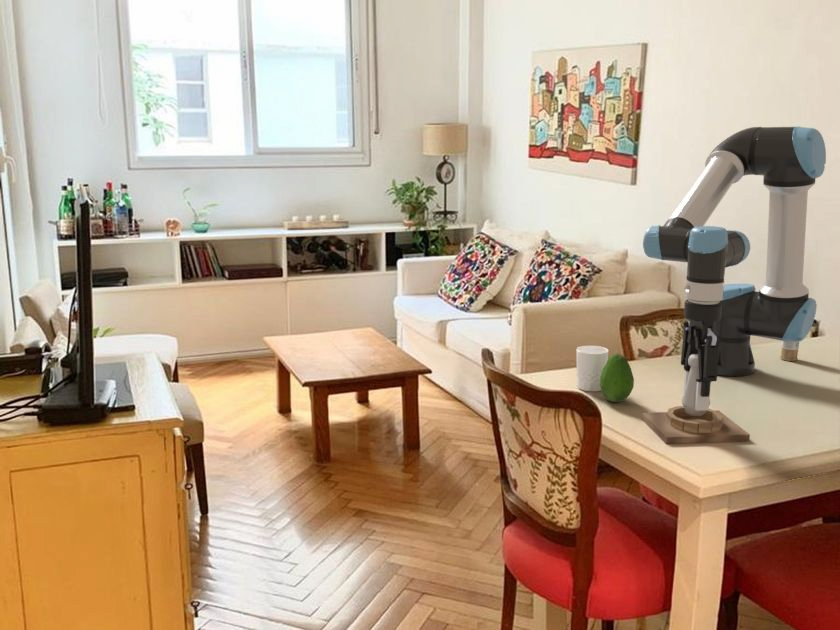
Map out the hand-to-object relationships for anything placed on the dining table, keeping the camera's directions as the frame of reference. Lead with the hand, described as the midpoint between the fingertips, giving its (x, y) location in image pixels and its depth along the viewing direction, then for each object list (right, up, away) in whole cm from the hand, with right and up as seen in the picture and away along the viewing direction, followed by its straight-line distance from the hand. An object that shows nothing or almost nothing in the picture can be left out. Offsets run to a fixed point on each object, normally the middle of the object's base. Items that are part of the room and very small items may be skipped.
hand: (695, 404), depth 181 cm
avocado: (-13, -2, +20) cm, 24 cm away
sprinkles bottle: (+45, +7, +55) cm, 71 cm away
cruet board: (0, -6, +1) cm, 6 cm away
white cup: (-17, +1, +30) cm, 35 cm away
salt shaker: (0, -2, 0) cm, 2 cm away
